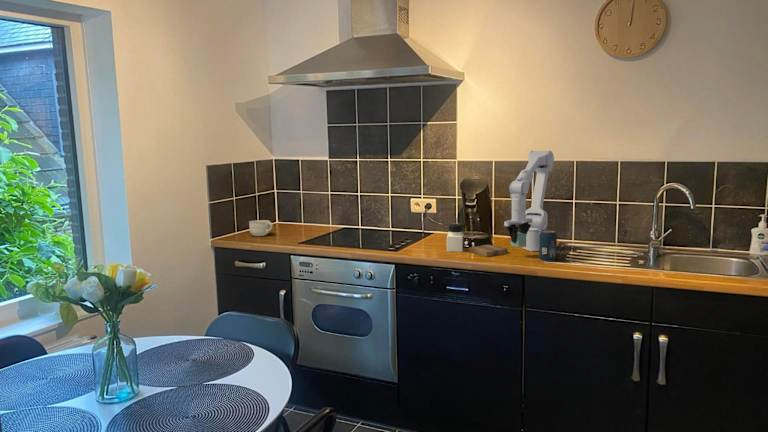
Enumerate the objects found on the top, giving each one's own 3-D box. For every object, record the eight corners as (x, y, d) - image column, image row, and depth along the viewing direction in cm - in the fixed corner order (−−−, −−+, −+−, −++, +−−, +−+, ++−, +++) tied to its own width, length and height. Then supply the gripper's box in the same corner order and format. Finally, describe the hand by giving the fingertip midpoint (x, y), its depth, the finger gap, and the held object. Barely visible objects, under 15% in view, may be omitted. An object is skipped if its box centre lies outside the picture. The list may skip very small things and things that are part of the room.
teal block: (518, 244, 257) (518, 232, 256) (526, 245, 253) (526, 234, 253) (510, 245, 255) (510, 233, 254) (518, 246, 251) (518, 235, 250)
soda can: (543, 257, 252) (543, 229, 251) (559, 259, 248) (559, 230, 246) (536, 260, 247) (536, 231, 245) (552, 262, 243) (552, 233, 241)
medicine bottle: (462, 252, 266) (462, 225, 264) (446, 251, 267) (446, 225, 266) (464, 248, 273) (464, 222, 271) (448, 248, 274) (448, 222, 272)
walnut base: (488, 248, 272) (488, 244, 272) (507, 253, 262) (507, 248, 262) (468, 252, 266) (468, 247, 265) (486, 256, 256) (486, 252, 255)
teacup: (245, 236, 317) (244, 221, 315) (262, 233, 325) (261, 218, 324) (262, 238, 308) (261, 223, 306) (278, 235, 316) (278, 220, 315)
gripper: (512, 212, 245) (512, 245, 247) (538, 208, 252) (537, 240, 254) (500, 210, 251) (500, 242, 253) (525, 207, 258) (525, 238, 260)
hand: (518, 241), depth 254 cm, fingers closed on teal block, 4 cm apart
